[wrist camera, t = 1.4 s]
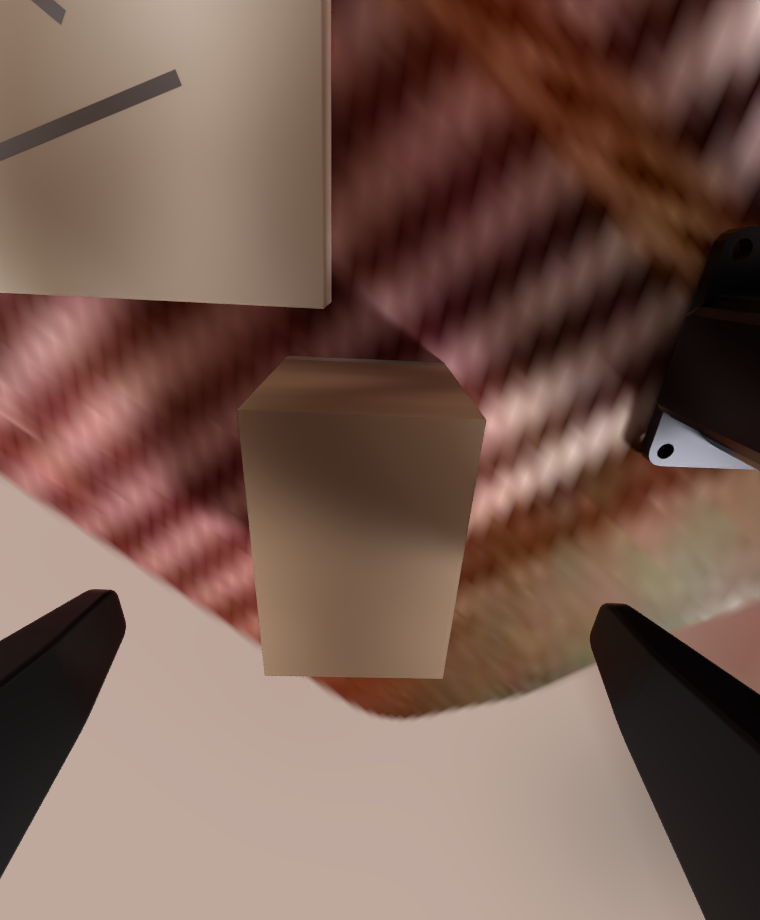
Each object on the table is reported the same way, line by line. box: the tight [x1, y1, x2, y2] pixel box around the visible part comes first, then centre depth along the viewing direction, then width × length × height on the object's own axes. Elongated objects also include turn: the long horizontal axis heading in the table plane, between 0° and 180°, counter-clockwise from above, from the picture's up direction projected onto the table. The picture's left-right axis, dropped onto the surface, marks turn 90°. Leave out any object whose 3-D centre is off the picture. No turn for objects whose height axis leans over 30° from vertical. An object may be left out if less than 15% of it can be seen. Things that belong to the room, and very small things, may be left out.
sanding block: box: [237, 356, 486, 679], centre depth 11 cm, size 4×7×5 cm, turn 177°
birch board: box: [0, 0, 331, 309], centre depth 8 cm, size 10×10×2 cm
